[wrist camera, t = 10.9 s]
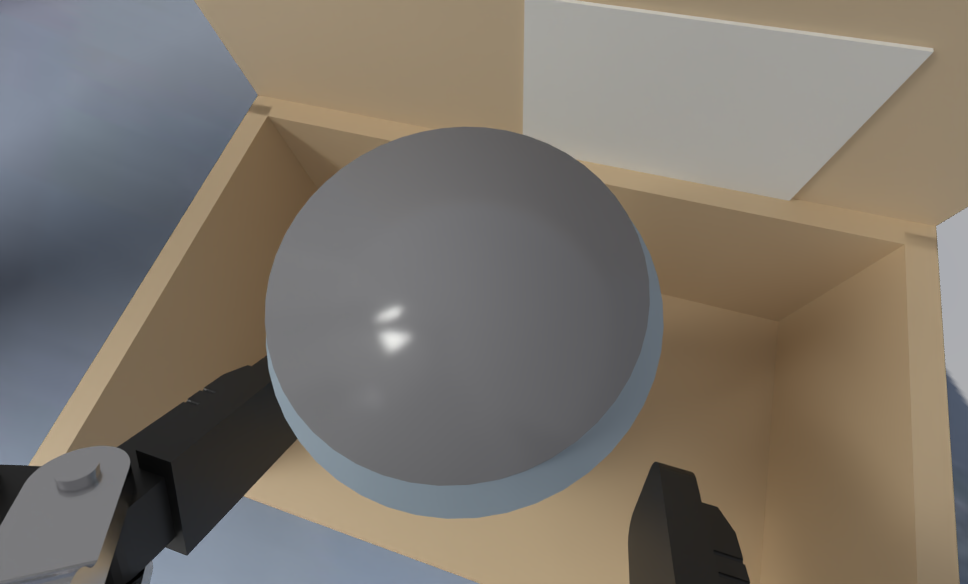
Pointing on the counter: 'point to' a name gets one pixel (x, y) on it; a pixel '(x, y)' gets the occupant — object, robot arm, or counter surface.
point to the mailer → (668, 237)
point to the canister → (462, 323)
